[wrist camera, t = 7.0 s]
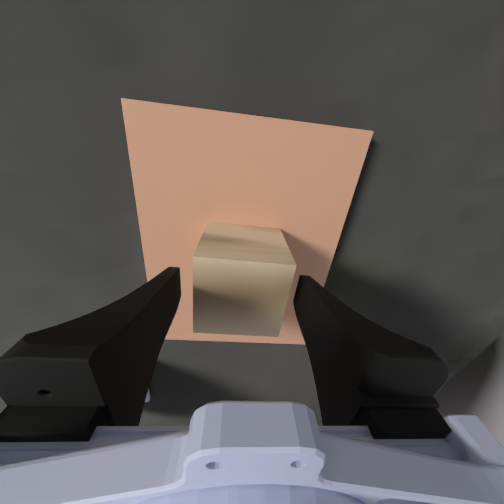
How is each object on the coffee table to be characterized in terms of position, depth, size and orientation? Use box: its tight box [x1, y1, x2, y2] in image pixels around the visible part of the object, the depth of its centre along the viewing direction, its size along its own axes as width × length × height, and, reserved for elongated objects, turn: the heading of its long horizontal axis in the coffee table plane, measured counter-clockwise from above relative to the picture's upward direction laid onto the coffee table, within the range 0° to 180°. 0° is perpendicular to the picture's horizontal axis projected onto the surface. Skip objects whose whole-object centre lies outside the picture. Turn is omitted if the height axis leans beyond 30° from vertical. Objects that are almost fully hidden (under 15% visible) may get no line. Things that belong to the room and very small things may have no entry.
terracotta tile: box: [121, 98, 374, 344], centre depth 16 cm, size 18×14×1 cm
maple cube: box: [193, 221, 297, 337], centre depth 13 cm, size 5×5×5 cm
